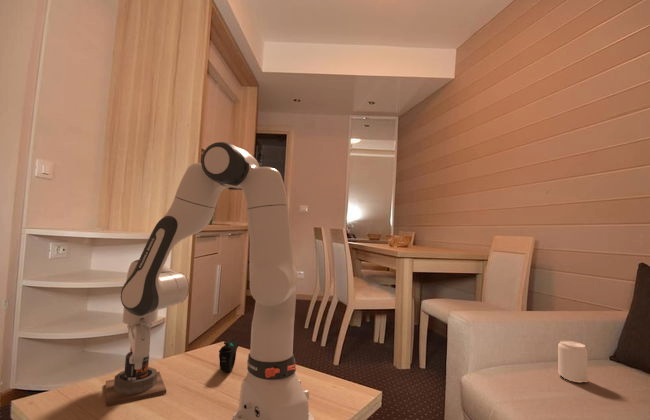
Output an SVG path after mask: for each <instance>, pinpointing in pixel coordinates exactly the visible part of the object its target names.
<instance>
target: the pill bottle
mask: <svg viewBox="0 0 650 420" xmlns="http://www.w3.org/2000/svg"><path fill="white" fill-rule="evenodd" d="M124 362H125V363H124V370H123V371H124V380H125V381H134V380H140V379H144V378H146V377H147V376H148V367H149V365H150V364H149V362H150V355H149V356H148V357H145V358H143V362H142V368H141V369H138V370H135V369H134V362H135V358H134V357H133V352H132V348H131V346H130V349H129V352H128V353H126V356H125V361H124Z"/></svg>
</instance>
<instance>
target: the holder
mask: <svg viewBox="0 0 650 420" xmlns="http://www.w3.org/2000/svg"><path fill="white" fill-rule="evenodd" d="M124 371H125V370H122V371H119V373H117V374H116V375H114V379H109V380H108V379H107V380H106V381H105V405H106V406H105V407H109V406H114V405H115V406H116V405H118V404H122V403H128V402H134V401H137V400H142V399H146V398H147V399H148V398H152V397H157V396H161V395H166V394H167V388H166V385H165V383H164V381H163V378H162V375H161V372H160V371H157V369H156V368H153V367H151V366H148V376H147V377H146V378H144V379H140V380H134V381H125V380H124Z"/></svg>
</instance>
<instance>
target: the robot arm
mask: <svg viewBox="0 0 650 420" xmlns="http://www.w3.org/2000/svg"><path fill="white" fill-rule="evenodd" d="M225 189H228V190H229V191H230V190H231V191H232V190H234V191H235V190H236V191H237V190H240V191H241V190H242V191H243V194H244V196H245V203H246V204H245V205H246V214H247V215H246V216H247V225H248V233H249V234H248V235H249V236H248V237H249V267H248V268H249V290H250V291H249V292H250V295H251V297H252V298H253V300H255V304H254V311H253V317H252V321H251V330H250V332H251V333H250V349H249V353H248V356H247V362H246V363H247V367H246V369H247V373H246V376H245V377H244V379H243V380H242V382H241V384H240V392H239V399H238V400H239V401H238V408H237V410H236V411H235V412H233V414H232V419H231V420H316V419H315V418H314V416H313V415H312V413H311V412H310V409H309V399H310V393H309V390H308V389H303V387H302V386H303V385H302V384H301V383H302V382H301V379H299V378H298V376H297V373H296V370H297V364H296V358H295V354H294V353H293V350H294V331H295V330H294V329H295V328H294V327H295V317H296V316H295V315H296V301H297V288H298V271H297V268H296V266H295V265H294V263H293V262H294V261H293V247H292V231H291V220H290V212H289V204H288V195H287V192H286V187H285V183H284V180H283V177H282V174H281V172H280V171H279V170H277V169H276V168H273V167H271V166H262V163H261V162H260V161H259V160H258V158H257V157H255V156H254V155H252V154H250V153H249V152H248V151H247V150H245V149H243V148H241V147H239V146H236V145H234V144H232V143H231V142H226V141H225V142H223V141H219V142H214V143H211V144H210V145H208V146H207V147H206V148H205V149H204V151H203V153H202V154H201V159H200V162H195V163H193V164H191V165H189V166H188V167H187V168H186V170H185V172H184V174H183V176H182V178H181V180H180V182H179V185H178V187H177V189H176V193H175V196H174V198H173V201H172V203H171V205H170V208H169V209H168V210H167V212H166V213H165V215H163V217H162V218H161V219H160V220H158V222H157V223H156V224H155V226H154V228H153V229H152V231H151V234H150V236H149V237H148V240H147V242H146V244H145V247H144V248H143V250H142V252H141V255H140V257H139V259H136V260H134V261H132V262H131V263H130V265H129V267H128V270H127V274H126V275H127V276H126V279H125V280H126V281H125V282H124V284H123V286H122V289H121V292H120V301H121V305H122V306H123V314H122V323H123V324H125V325H127V333H128V335H127V336H128V340H129V343H130V344H129V345H130V347H131V348H132V352H133V357H134V358H135V362H134V369H135V370H138V369H141V368H142V362H143V358H145V357H148V356H149V357H150V350H151V349H150V348H151V327H152V326H153V323H154V322H157V321H158V317H159V310H162V309H166V308H169V307H172V306H173V307H174V306H176V305H179V304H181V303H183V302H185V300H186V299H187V297H188V296H189V292H190V282H189V279H188V278H187V276H186V275H185V274H184V273H183V272H179V271H177V270H176V271H175V270H173V269H171V268H169V267H167V266H166V265H165V264H166V262H167V260H168V258H169V255H170V254H171V251H172V250H173V248H174V247H175V246H176V245H178V243H180V242H181V241H183V240H185V239H187V238H189V237H191V236H193V235H196V234H198V233H200V232H202V231H203V230H205V229H206V228H208V226H209V224H210V222H211V220H212V218H213V216H214V212H215V209H216V206H217V204H218V200H219V197H220V195H221V193H222V192H223V191H224V190H225Z"/></svg>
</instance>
